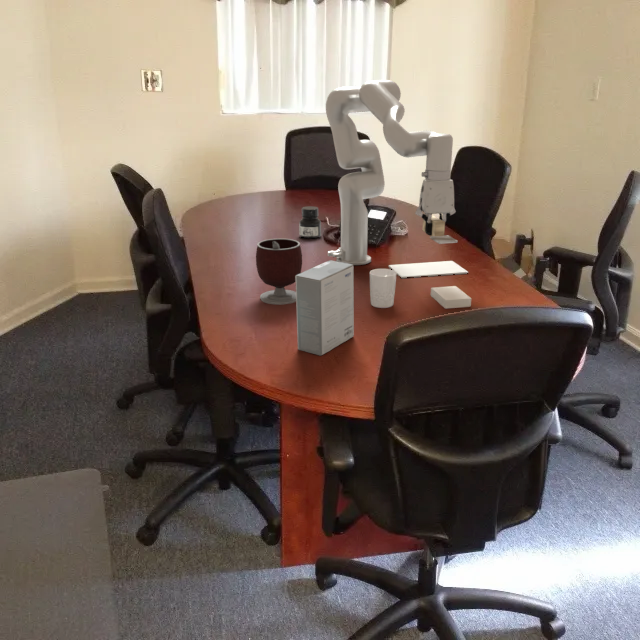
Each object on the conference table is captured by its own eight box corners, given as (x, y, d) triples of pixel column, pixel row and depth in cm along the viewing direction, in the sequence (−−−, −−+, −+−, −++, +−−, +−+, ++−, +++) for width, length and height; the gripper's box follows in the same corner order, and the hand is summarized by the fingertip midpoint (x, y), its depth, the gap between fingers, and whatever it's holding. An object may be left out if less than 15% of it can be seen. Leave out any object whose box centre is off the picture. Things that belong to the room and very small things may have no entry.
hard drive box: (330, 330, 181) (330, 259, 174) (354, 336, 177) (355, 264, 170) (296, 349, 169) (294, 274, 162) (321, 356, 165) (320, 279, 158)
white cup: (367, 300, 204) (367, 268, 200) (392, 299, 205) (393, 268, 201) (371, 309, 197) (371, 276, 193) (397, 308, 197) (398, 275, 194)
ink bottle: (295, 238, 276) (294, 209, 272) (303, 233, 284) (303, 205, 279) (317, 240, 273) (316, 211, 268) (325, 235, 280) (325, 206, 276)
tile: (430, 296, 208) (445, 309, 197) (431, 287, 207) (445, 300, 196) (454, 295, 210) (470, 307, 199) (455, 285, 209) (471, 298, 198)
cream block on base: (418, 231, 216) (418, 215, 215) (435, 229, 218) (436, 214, 216) (439, 243, 202) (440, 227, 200) (457, 242, 203) (458, 226, 201)
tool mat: (401, 278, 224) (401, 276, 224) (388, 266, 237) (388, 265, 237) (468, 273, 229) (468, 271, 229) (452, 262, 242) (452, 260, 242)
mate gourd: (262, 290, 214) (259, 228, 206) (305, 291, 212) (304, 229, 205) (252, 306, 199) (249, 240, 192) (298, 308, 198) (297, 242, 191)
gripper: (417, 178, 200) (414, 238, 206) (467, 176, 203) (463, 235, 210) (408, 174, 206) (405, 233, 213) (457, 172, 210) (452, 230, 217)
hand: (434, 233), depth 212 cm, fingers closed on cream block on base, 3 cm apart
